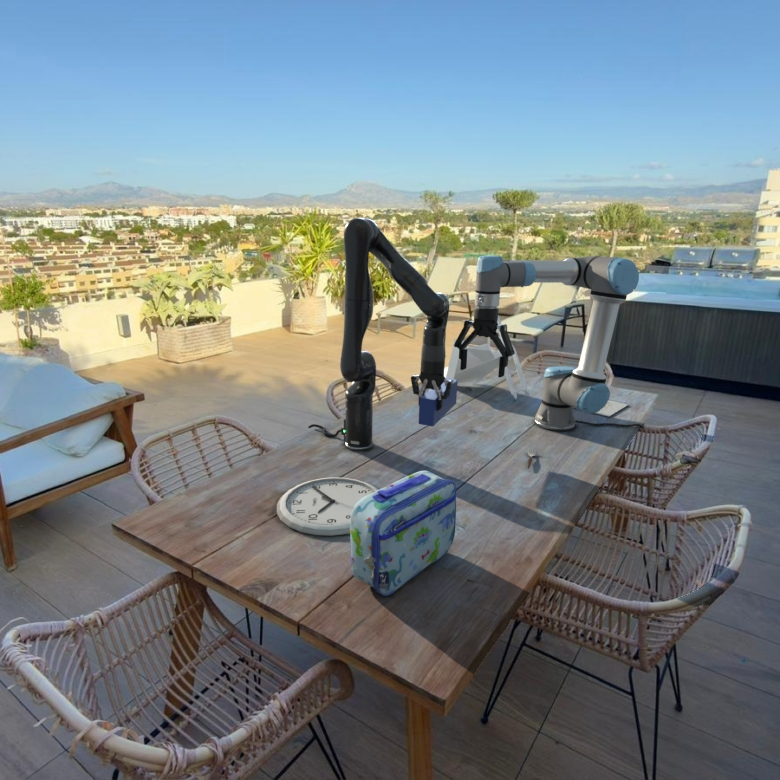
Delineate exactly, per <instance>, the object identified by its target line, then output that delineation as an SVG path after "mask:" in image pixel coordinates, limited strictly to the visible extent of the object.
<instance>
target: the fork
mask: <svg viewBox="0 0 780 780" xmlns="http://www.w3.org/2000/svg"><path fill="white" fill-rule="evenodd" d="M533 448H535V449H533ZM533 448H531V447H529V448H528V451H527V456H529V459H528V460H527V469H530V467H531V465H532V463H533V460H532V459H533V457H535V456H537V445H536V447H535V445H534V446H533Z"/></svg>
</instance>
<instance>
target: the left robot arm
mask: <svg viewBox="0 0 780 780" xmlns="http://www.w3.org/2000/svg"><path fill="white" fill-rule="evenodd" d="M343 247H344V260H345V261H344V262H345V271H344V297H343V299H344V300H343V302H344V303H343V313H344V315H343V316H344V317H343V334H342V335H343V338H342V346H341V352H340V353H341V355H340V361H339V365H340V366H339V367H340V368H339V369H340V373H341V376H342V378H343V379H344V380H345V381H346V382H348V383H351V384H350V385H349V387H348V388H347V389H346V390H345V392H344V393H345V394H344V395H345V396H344V397H345V401H344V402H345V417H344V418H343V427H341V428H340V429H338V430H336V432H335V433H328V432H327V429H326V428H325V427H324V426H322V425H320V424H315V423H313V424H309V425H308V426H307V429H311V428H313V427H314V428H319V429H321V430H322V435H323V436H326V437H330V438H333V437H334V438H335V437H337V436H339V434H340V433H341V436H343V445H345V448H347V449H348V450H350V451H356V452H359V451H367V450H370V449H372V447H373V444H374V443H373V417H374V415H373V413H374V409H373V408H374V407H373V406H374V402H373V401H374V399H373V398H374V393H375V389H376V383H377V382H376V380H377V363H376V359H375V357H374V355H373V354H372V353H371V352H369V351H367V350H362V349H363V341H364V339H365V335H366V333H367V330H368V329H369V326H370V323H371V322H372V318H373V313H374V300H375V299H374V288H373V283H372V280H371V275H370V271H369V256H370V254H371V255H373V256H374V257H375V258H376V259H377V260H378V261H379V262H380V263H381V264H382V265H383V266H384V268H385V270H386V271H387V272H388V274H389V275H390V277H391V278H392V280H393V281H394V282H395V283H396V285H398V286H399V287H400V288H401V289H402V290H403V291H404V292H405V293H406V295H408V296H409V297H410V298H411V300H412V301H413V303H414V304H415V305H416V306H417V307H418V309H419V310H420V311H421V312H422V313H423V314H424V315H425V316H426V322H425V325H424V327H423V329H422V330H423V331H422V345H421V350H420V351H421V352H420V373H419V374H413V375H411V376H410V382H411V388H412V393H413V395H416V396H418V405H419V402H420V397H421V396H422V395H424V394H425V393H426V392H427V390H430V389H432V390H435V393H436V395H437V398H438V400H437V411H439V410H440V409H441V408H442V405H443V399H447V397H449V394H450V391H451V388H452V385H453V381H452V380H450V381H449V380H447V379H445V377H444V368H446V367H445V365H446V358H447V357H446V337H447V326H448V325H447V324H448V319H449V314H450V300H449V298H448V296H447V295H446V294H444V293H442V292H435V291H434V290H433V289H432V288H431V287H430V286H429V284H428V281H427V279H426V278H425V277H424V275H422V273H420V272H419V270H417V269H416V268H415V267H414V266H413V264H411V263H410V262H409V261H408V260H407V259H406V258H405V257H404V256H403V255H402V254H401V253H400V252H399V251H398V250H397V249H396V248H395V247H394V245H393V244H392V243H391V242H390V241H389V239H388V237H386V235H385V234H384V232H383V231H382V230H381V229H380V227H379V226H378V224H377V223H376V222H375V221H374V220H372V219H370V218H365V217H354V218H352V219H350V220H349V221H348V222H347V223H346V225H345V227H344V230H343ZM369 253H370V254H369ZM419 381H420V383H421V387H420V386H419ZM443 382H444V383H445V386H446V389H445V392H444V394H443V392H442V387H441V385H442V384H443Z"/></svg>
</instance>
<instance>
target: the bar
mask: <svg viewBox="0 0 780 780" xmlns="http://www.w3.org/2000/svg"><path fill="white" fill-rule="evenodd" d="M445 379H447V380H449V381H450V380H452V381H453V385H452V388H451V391H450V394H449V397H447V399H443V405H442V408H441V409H440V410H439V411H437V400H438V398H437V395H436V393H435V390H432V389H428V390H426V391H425V394H424V395H422V396H421V397H420V402H419V401H418V403H419V404H418V425H423V426H427V427H434V426H435V425H436V424H437V423H439V421H440V420H441V419H442V418H443V417H444V416H445V415H447V413H449V411H451V409H453V407H454V406H456V405H457V397H458V384H457V383H458V380H455V379H448V378H445ZM441 387H442V392H443V394H444V392H445V389H446V386H445V383H444V382H443V384H442V385H441Z"/></svg>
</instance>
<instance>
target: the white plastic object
mask: <svg viewBox="0 0 780 780" xmlns="http://www.w3.org/2000/svg"><path fill="white" fill-rule="evenodd" d="M497 323H498V325H503V324H502V321H501V318H500V315H498V321H497ZM497 332H498V336H499V338H500V340H501V341H502V343H503V345H504V342H503V339H502V337H501V333H500V331H499V329H497ZM456 340H457V338H454V340H453V344H452V349H451V353H450V357H449V362H448V366H446V367H444V377H445V378H448V379H455V380H458V383H457V385H458V384H467V383H468V384H469V383H473V384H477V383H480V382H482V381H484V378H485V377H486V376H487V375H489V374H490V373H492V372H494V371H495V370H496V369H497V368H499V362H500V357H501V356H502V355H501V353H500V351H499V350H498V349H496V350H495V349H493V348H492V347H491V346H490V344H489V343H488V342H487V343H483V344H479V345H473V346H469V345H468V346H467V347H466V348H465V349H467V365H466V369H464V370H460V366H461V359H459V349H458V348H457V347H454V344H455V342H456ZM464 341H465V339H464V340H463V342H464ZM463 342H462V343H463ZM504 346H505V345H504ZM512 346H513V349H514V352H515V354H514V355H512V356H509V357H508V361H510V360H513V363H514V366H515V369H516V372H517V376H518V380H519V382H520V385H521V389H522V391H523V393H524V395H525V396H526V397H528V396H531V395H530V390H529V388H528V387H529V386H528V384H527V381H526V378H525V375H524V371H523V369H522V368H523V367H522V366H521V362H520V359H519V355H518V352H517V349H516V347H515V346H514V345H513V344H512ZM504 376H505V380H506V383H507V386H508V390H509V393H510V394H511V395H512V397H513V398H514V399H515V400H517V392H516V391H517V390H516V388H515V385H514V381H513V378H512V375H511V371H510V369H509V364H508V365H507V367H505V372H504Z"/></svg>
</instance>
